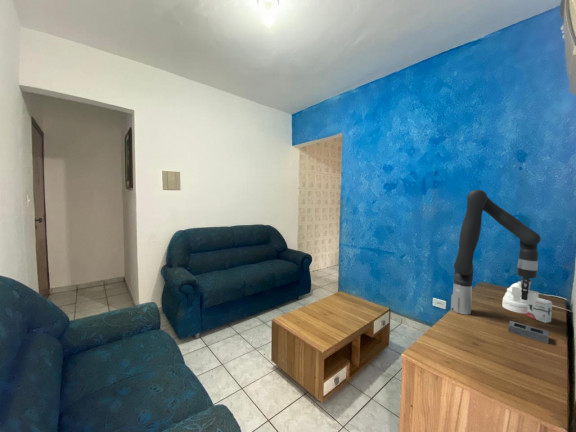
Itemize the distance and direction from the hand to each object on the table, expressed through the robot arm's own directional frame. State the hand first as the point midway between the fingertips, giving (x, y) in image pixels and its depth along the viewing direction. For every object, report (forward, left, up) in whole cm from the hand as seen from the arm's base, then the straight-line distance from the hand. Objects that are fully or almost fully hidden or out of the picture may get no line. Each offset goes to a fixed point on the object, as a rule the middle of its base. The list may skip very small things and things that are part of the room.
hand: (524, 298), depth 127 cm
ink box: (+16, +8, -16) cm, 24 cm away
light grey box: (0, 0, -2) cm, 2 cm away
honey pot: (+15, +21, -16) cm, 30 cm away
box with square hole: (-6, -9, -15) cm, 19 cm away
